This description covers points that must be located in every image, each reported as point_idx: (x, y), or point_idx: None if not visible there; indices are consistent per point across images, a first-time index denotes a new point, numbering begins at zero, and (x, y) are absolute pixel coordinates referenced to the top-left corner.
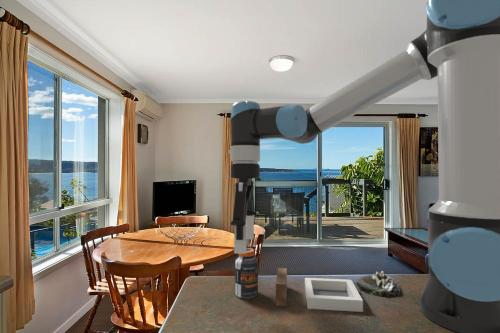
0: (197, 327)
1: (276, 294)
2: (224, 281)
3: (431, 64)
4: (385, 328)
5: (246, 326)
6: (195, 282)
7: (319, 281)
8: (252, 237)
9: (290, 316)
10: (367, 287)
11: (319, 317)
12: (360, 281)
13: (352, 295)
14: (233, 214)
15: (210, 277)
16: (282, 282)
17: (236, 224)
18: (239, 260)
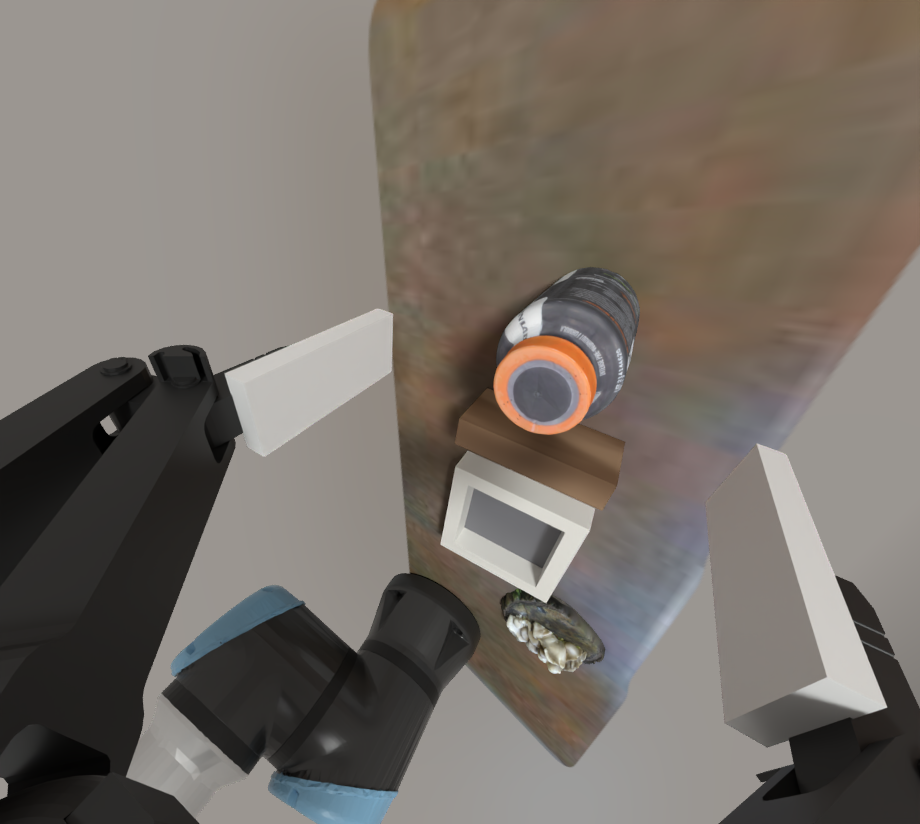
0: (378, 132)
1: (473, 404)
2: (807, 204)
3: None
4: (405, 517)
5: (394, 288)
6: None
7: (557, 545)
8: (709, 508)
9: (436, 401)
10: (533, 604)
11: (433, 452)
12: (562, 617)
13: (471, 548)
14: (41, 399)
15: None
16: (469, 440)
17: (156, 383)
18: (518, 328)
